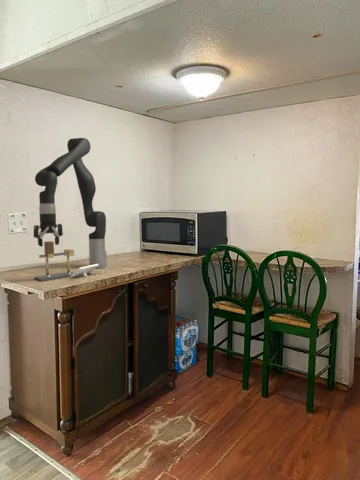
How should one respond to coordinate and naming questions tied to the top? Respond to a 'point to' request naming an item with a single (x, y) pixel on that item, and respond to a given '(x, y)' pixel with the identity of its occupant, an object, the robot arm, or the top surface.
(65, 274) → the bolt plate
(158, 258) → the top surface
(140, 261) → the top surface
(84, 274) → the light switch
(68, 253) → the dividers frame
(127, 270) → the top surface
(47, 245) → the block
